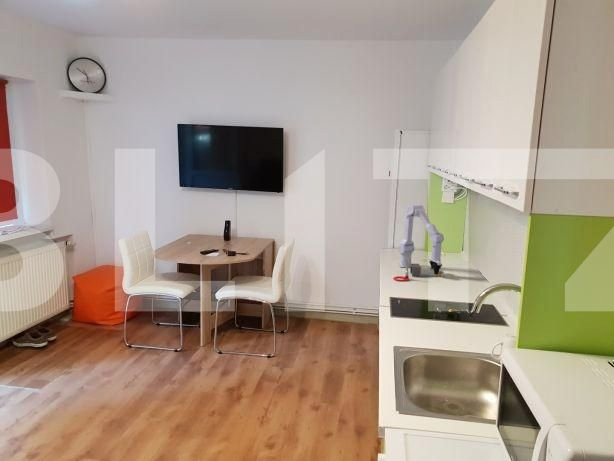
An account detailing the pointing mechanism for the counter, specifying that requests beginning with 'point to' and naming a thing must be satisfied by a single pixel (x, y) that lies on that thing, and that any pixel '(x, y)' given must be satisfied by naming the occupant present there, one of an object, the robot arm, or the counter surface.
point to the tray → (430, 267)
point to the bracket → (415, 270)
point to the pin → (427, 272)
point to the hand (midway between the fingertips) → (434, 273)
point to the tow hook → (402, 276)
